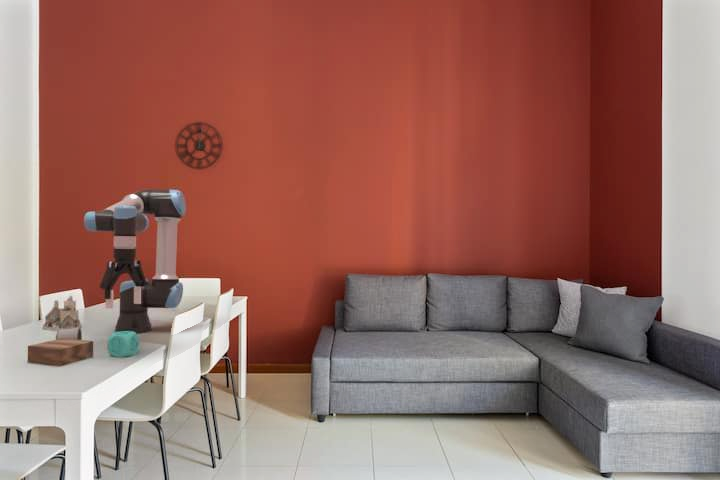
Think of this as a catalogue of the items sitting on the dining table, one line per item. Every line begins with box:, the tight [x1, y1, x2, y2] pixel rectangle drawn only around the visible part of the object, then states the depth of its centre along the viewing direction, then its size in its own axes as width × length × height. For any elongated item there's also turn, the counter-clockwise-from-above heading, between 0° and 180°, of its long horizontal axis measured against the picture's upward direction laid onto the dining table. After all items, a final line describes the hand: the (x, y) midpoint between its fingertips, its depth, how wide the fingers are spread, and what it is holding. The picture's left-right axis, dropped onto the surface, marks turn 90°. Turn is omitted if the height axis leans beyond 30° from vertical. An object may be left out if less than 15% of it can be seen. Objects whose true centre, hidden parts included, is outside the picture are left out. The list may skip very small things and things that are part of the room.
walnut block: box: [27, 338, 94, 367], centre depth 179 cm, size 14×14×6 cm
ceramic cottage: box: [42, 295, 82, 332], centre depth 234 cm, size 16×16×15 cm
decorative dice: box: [106, 331, 140, 358], centre depth 188 cm, size 8×8×8 cm
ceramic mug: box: [55, 328, 83, 340], centre depth 196 cm, size 10×8×7 cm
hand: (123, 305), depth 187 cm, fingers open, 13 cm apart
